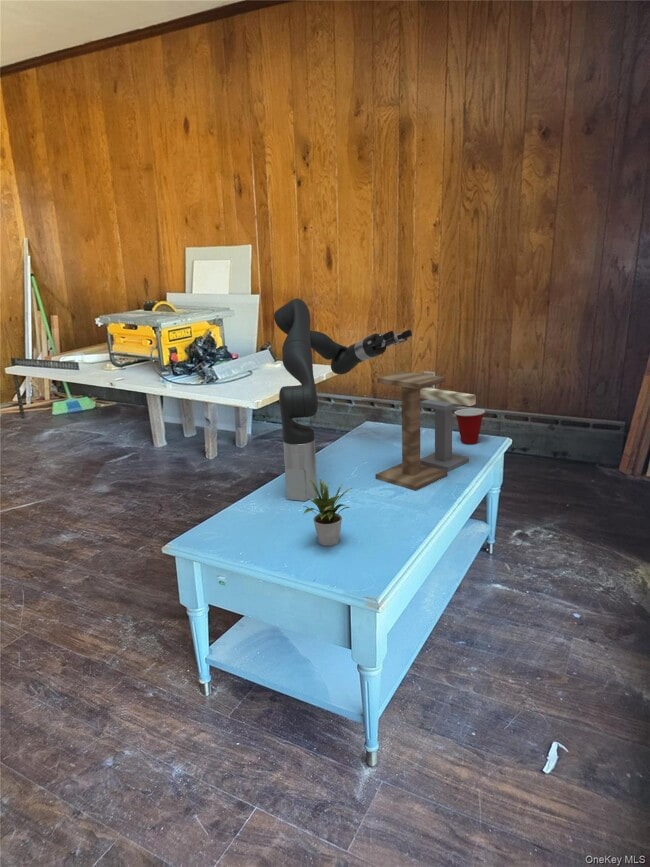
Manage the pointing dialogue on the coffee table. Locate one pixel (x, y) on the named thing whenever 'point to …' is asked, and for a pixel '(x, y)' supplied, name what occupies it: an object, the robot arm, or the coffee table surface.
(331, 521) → the house plant
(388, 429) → the coffee table surface
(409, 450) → the walnut stand
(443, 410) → the charcoal stand
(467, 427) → the plastic cup
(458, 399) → the birch block
